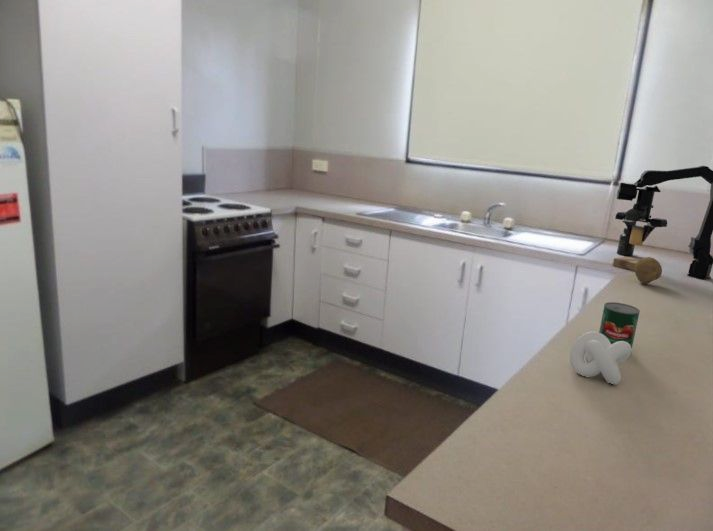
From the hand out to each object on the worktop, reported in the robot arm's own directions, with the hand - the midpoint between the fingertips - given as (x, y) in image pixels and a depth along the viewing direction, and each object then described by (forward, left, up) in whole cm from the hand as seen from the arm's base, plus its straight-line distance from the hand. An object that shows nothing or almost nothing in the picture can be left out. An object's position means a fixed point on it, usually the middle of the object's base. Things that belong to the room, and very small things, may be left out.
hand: (636, 240), depth 225 cm
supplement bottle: (+16, -23, -12) cm, 30 cm away
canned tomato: (-49, +94, -12) cm, 107 cm away
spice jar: (0, 0, -2) cm, 2 cm away
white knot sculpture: (-57, +113, -12) cm, 127 cm away
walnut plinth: (0, 0, -12) cm, 12 cm away
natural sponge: (-17, +20, -12) cm, 29 cm away
